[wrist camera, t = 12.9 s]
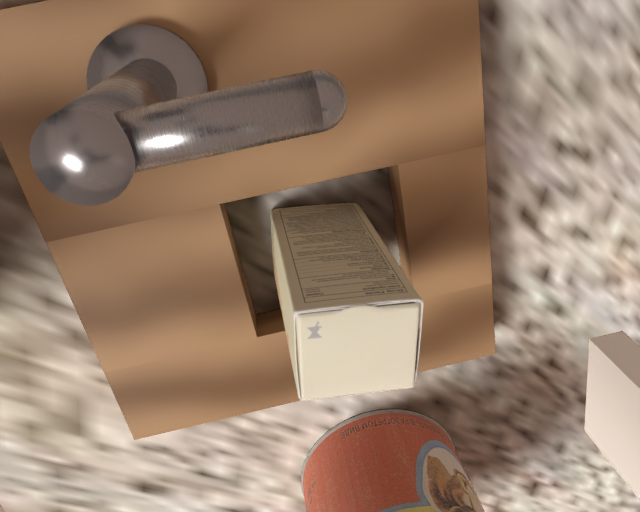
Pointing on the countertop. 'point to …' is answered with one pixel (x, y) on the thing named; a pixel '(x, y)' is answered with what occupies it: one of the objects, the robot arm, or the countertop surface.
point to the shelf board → (258, 188)
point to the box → (343, 303)
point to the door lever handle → (167, 115)
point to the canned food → (387, 467)
